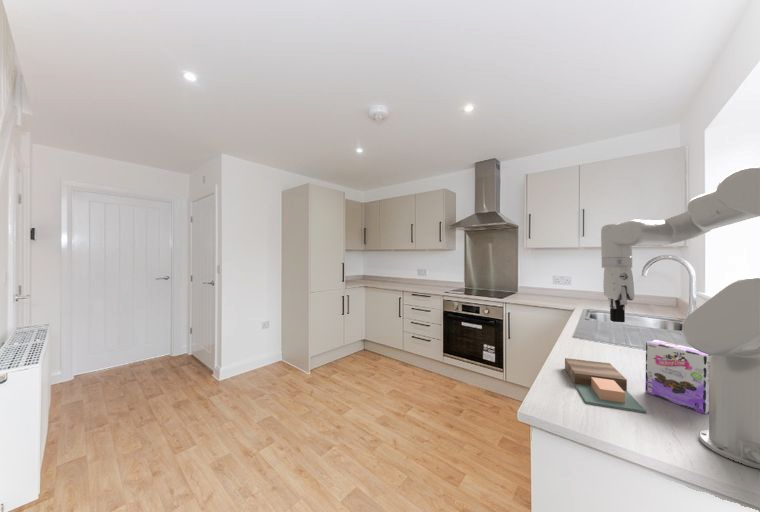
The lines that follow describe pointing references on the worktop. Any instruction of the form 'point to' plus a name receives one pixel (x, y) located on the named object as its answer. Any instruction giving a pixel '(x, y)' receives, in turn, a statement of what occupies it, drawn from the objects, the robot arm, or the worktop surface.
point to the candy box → (678, 374)
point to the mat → (593, 398)
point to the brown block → (593, 372)
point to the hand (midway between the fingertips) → (617, 321)
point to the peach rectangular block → (607, 389)
